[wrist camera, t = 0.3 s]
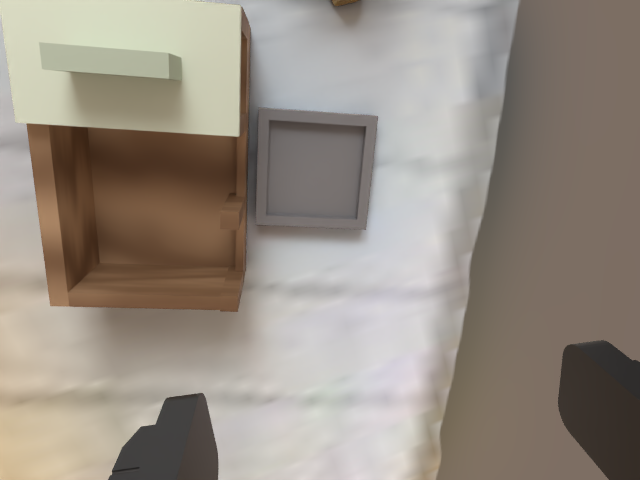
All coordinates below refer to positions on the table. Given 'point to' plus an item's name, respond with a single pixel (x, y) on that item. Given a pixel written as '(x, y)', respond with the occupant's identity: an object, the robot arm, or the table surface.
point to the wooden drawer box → (144, 213)
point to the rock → (342, 2)
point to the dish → (314, 168)
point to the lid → (125, 64)
